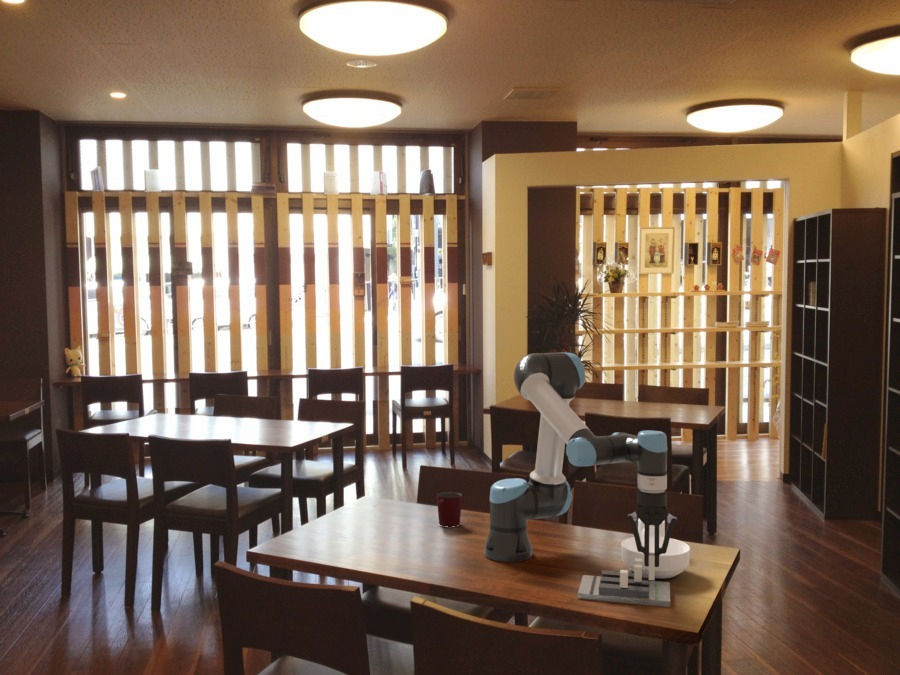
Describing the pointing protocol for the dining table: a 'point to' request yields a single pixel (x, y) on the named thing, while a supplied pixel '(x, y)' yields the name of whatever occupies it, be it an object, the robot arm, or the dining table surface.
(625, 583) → the breaker near
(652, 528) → the mug
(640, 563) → the breaker far
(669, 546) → the bowl
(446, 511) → the mug
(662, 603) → the panel
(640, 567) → the block
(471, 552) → the dining table surface
